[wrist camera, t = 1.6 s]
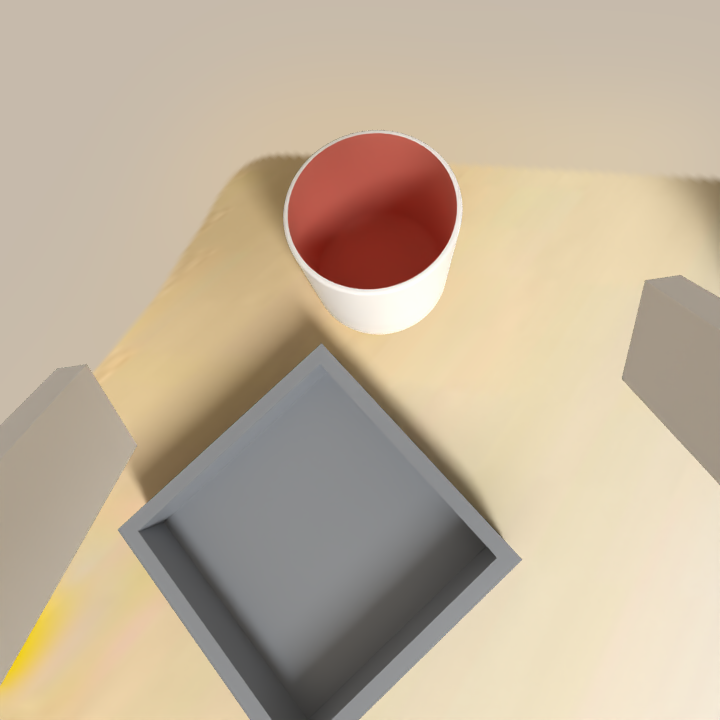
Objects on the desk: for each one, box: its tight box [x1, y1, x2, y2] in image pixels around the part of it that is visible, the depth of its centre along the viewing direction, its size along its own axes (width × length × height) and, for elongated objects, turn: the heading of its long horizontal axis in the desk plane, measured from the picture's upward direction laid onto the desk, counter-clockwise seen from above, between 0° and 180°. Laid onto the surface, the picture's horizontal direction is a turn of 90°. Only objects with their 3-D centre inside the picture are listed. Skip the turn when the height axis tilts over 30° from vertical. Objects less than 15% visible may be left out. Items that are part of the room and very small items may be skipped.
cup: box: [283, 130, 462, 334], centre depth 28 cm, size 10×10×10 cm
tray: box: [118, 343, 522, 720], centre depth 28 cm, size 18×18×4 cm
